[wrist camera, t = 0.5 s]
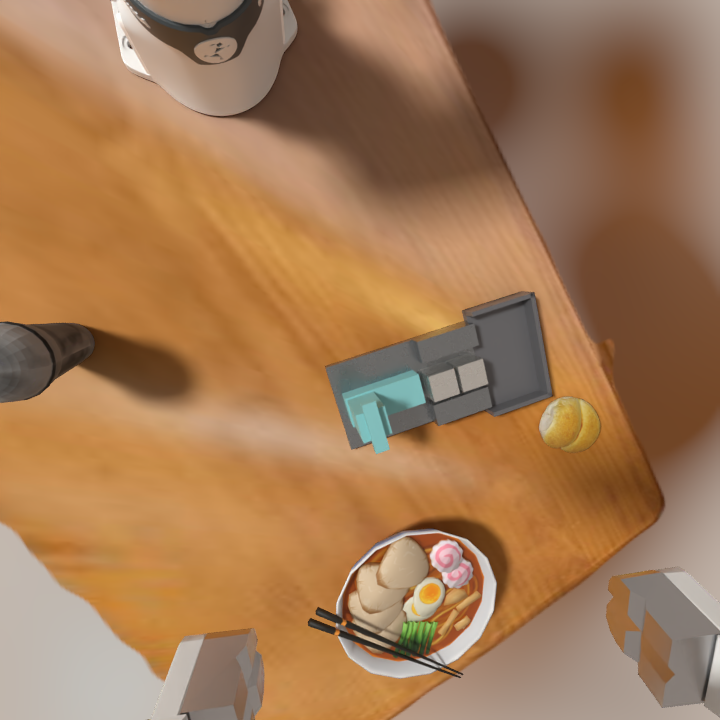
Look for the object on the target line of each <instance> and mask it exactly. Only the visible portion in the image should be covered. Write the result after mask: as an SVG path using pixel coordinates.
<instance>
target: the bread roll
mask: <svg viewBox="0 0 720 720" xmlns="http://www.w3.org/2000/svg"><path fill="white" fill-rule="evenodd" d="M539 431H540V433H541V435H542V438H543V440H544V442H545V443H546V444H547V445H548V446H550V447H552V448H561V449H562V450H564V451H565V452H568V453H578V452H581V451H584V450H586V449H588V448H589V447H590V446H591V445H592V444H593V443H594V442H595V441H596V439H597V437H598V435H599V433H600V421H599V417H598V415H597V413H596V412H595V410H594V409H593V407H592V406H591V405H590V404H589V403H588V402H586V401H584V400H582V399H578V398H574V397H561V398H558V399H556V400H554V401H553V402H551V403H550V404H549V405H548V406H547V408H546V410H545V412H544V413H543V415H542V418H541V421H540V424H539Z"/></svg>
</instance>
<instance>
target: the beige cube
mask: <svg viewBox="0 0 720 720" xmlns="http://www.w3.org/2000/svg"><path fill="white" fill-rule="evenodd" d="M418 371H419V375H420V379H421V383H422V387H423V391H424V394H425V395H426V396H428V397H429V398H430V399H431V400H432V401H434V402H437V401H440V400H443V399H446V398H449V397H452V396H455V395H458V394H460V392H459V388H458V383H457V379H456V375H455V371H454V368H452V367H450V366H449V365H447V364H445V363H443V362H441V363H438V364H435V365H432V366H429V367H426V368H423V369H420V370H418Z"/></svg>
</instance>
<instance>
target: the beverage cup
mask: <svg viewBox="0 0 720 720" xmlns="http://www.w3.org/2000/svg"><path fill="white" fill-rule="evenodd" d="M94 345H95V342H94V337H93V336H92V334H91V332H90V331H89V330H88V329H86V328H85V327H83V326H81V325H79V324H75V323H50V324H30V325H25V324H19V323H13V322H0V403H4V402H13V401H20V400H28V399H30V398H32V397H35V396H37V395H40V394H41V393H42V392H43V391H44V390H45V389H46V388H48V387H49V386H50V384H51V383H52V382H53V381H54V380H55V379H56V378H58V377H60V376H61V375H63V374H64V373H66V372H67V371H69V370H70V369H72V368H73V367H75V366H77V365H78V364H80V363H81V362H82V361H84V360H85V359H86V358H87V357H89V356H90V355H91V354H92V352H93V350H94Z"/></svg>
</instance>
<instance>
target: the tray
mask: <svg viewBox="0 0 720 720" xmlns="http://www.w3.org/2000/svg"><path fill="white" fill-rule="evenodd" d="M462 313H463V317H464V321H466V322H470V323H474V325H475V329H476V334H477V339H478V343H479V345H478V346H475V347H473V349H474V353H475V356H477V357H480V358H482V359H483V362H484V366H485V371H486V376H487V380H488V384H486V385H485V386H487V387H488V389H489V394H490V399H491V403H492V407H491V408H488V409H485V411H486V412H488V413H489V414H491V415H492V416H494V417H495V416H498V415H501V414H504V413H506V412H509V411H512V410H515V409H518V408H520V407H523V406H526V405H529V404H532V403H534V402H537V401H540V400H543V399H546V398H548V397H551V396H553V395H552V390H551V384H550V378H549V373H548V367H547V361H546V356H545V350H544V344H543V339H542V333H541V327H540V322H539V316H538V310H537V305H536V299H535V293H534V292H523V291H521V292H518V293H515V294H512V295H509V296H506V297H502V298H499V299H496V300H493V301H490V302H487V303H484V304H481V305H478V306H474V307H471V308H468V309H465V310H462Z"/></svg>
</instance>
